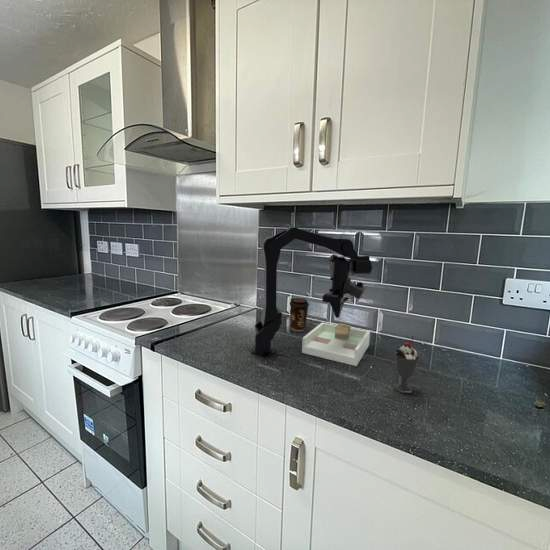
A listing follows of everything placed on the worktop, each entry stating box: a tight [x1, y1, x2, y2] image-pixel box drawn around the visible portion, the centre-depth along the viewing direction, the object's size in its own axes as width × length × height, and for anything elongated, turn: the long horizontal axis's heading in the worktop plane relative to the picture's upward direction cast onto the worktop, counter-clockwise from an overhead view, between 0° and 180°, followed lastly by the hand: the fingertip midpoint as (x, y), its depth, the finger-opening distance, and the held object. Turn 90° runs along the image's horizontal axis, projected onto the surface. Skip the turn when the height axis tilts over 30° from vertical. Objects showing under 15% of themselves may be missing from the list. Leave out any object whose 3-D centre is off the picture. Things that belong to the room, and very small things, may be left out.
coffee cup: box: [289, 297, 310, 332], centre depth 127 cm, size 9×8×13 cm
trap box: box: [301, 322, 371, 367], centre depth 108 cm, size 20×19×6 cm
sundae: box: [393, 335, 421, 391], centre depth 81 cm, size 7×7×15 cm
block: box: [335, 323, 352, 341], centre depth 112 cm, size 4×4×4 cm
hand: (337, 317), depth 106 cm, fingers closed
